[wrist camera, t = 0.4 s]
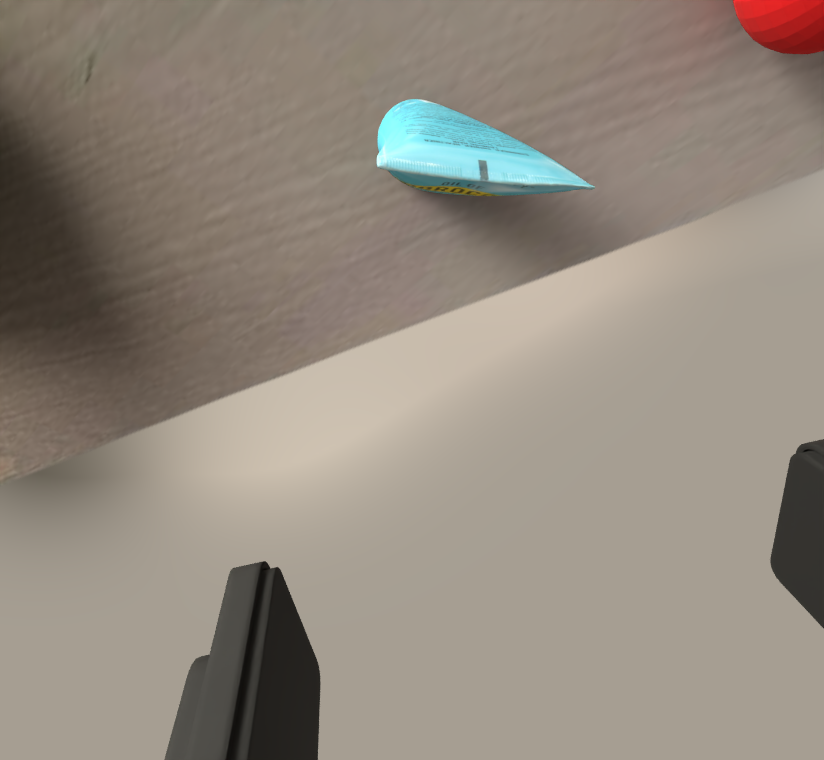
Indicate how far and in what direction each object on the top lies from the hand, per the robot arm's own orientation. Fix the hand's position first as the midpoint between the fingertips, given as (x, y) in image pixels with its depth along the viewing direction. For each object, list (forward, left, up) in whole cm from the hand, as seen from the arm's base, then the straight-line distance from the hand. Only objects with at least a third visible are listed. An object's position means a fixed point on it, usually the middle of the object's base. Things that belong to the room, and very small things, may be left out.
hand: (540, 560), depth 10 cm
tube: (-5, +2, -31) cm, 31 cm away
